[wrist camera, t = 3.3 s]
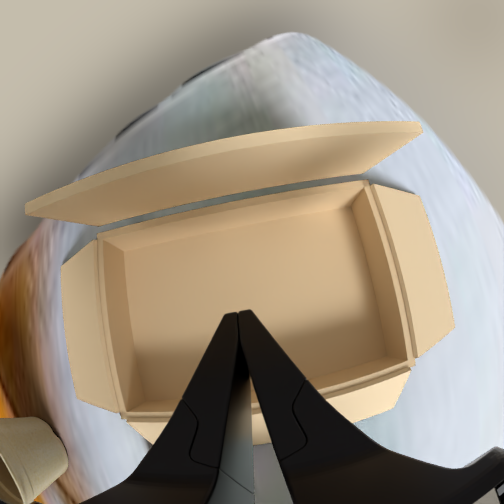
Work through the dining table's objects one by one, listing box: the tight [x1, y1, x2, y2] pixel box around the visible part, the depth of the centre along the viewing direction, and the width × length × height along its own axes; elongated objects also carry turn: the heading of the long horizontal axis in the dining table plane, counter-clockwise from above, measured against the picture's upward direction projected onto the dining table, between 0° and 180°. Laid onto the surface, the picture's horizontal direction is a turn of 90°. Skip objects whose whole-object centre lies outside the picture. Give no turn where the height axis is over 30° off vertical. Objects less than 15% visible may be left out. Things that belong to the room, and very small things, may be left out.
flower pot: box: [0, 417, 68, 504], centre depth 11 cm, size 9×9×9 cm
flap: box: [25, 121, 423, 226], centre depth 12 cm, size 1×17×7 cm, turn 101°
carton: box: [61, 180, 455, 445], centre depth 16 cm, size 16×30×4 cm, turn 101°
